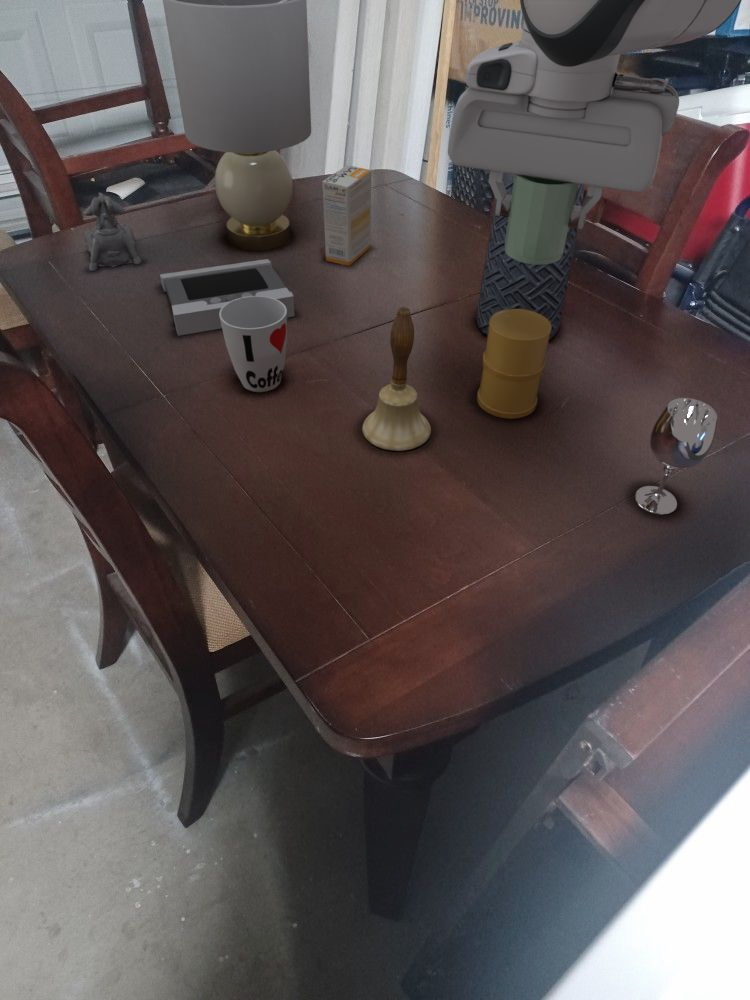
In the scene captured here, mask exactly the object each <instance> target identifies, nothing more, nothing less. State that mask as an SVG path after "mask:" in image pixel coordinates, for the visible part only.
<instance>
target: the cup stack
mask: <svg viewBox="0 0 750 1000" xmlns="http://www.w3.org/2000/svg"><path fill="white" fill-rule="evenodd" d="M550 333H551V324H550V322H549V320H548V319H547V318H545V317H544V316H542V315H541V314H538V313H536V312H533V311H529V310H524V309H506V310H502V311H499V312H497V313H495V314H494V315H493V316H492V317H491V318H490V321H489V328H488V335H486V342H485V343H486V344H485V350H484V351H483V354H482V360H481V365H482V371H481V378H480V382H479V383H480V384H479V388H478V390H477V393H476V394H477V395H476V401H477V404H478V406H479V407H480V408H481V409H482V410H483V411H485V412H486V413H487V414H490V415H491V416H494V417H497V418H501V419H510V420H515V419H521V418H524V417H527V416H529V415H531V414H532V413H533V412H534V411H535V410H536V409H537V405H538V400H539V399H538V393H539V388H540V384H541V380H542V375H543V373H544V372H545V369H546V365H547V364H546V357H547V351H548V346H549V341H550V339H549V338H550Z"/></svg>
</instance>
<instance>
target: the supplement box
mask: <svg viewBox="0 0 750 1000" xmlns="http://www.w3.org/2000/svg"><path fill="white" fill-rule="evenodd" d="M321 184H322V198H323V222H324V243H325V245H324V246H325V247H324V248H325V261H326V262H331V263H335V264H338V265H342V266H347V267H350V266H351V265H353V264H354V263H355V262H356V261H357V260H358V259H360V257H362V256H363V255H364V254H365V253H366V252H368V250H370V249H371V247H372V170H371V169H368V168H363V167H360V166H359V167H358V166H355V165H349V164H347V165H344V167H342V168H341V169H339V170H337V171H336V172H334V173H333V174H331V175H330V176H328V177H327V178H325V179H324V180H323V181H322V183H321Z"/></svg>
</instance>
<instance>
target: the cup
mask: <svg viewBox="0 0 750 1000" xmlns="http://www.w3.org/2000/svg"><path fill="white" fill-rule="evenodd" d="M219 316H220V321H221V325H222V328H221V329H222V333H223V338H224V343H225V347H226V350H227V352H228V356H229V358H230V361H231V364H232V366H233V367H232V368H233V369H234V372H235V374H236V375H237V377H238V379H239V380H240V383H241V384H242V386H243V388H245V389H246V390H248V391H251V392H256V393H265V392H269V391H273V390H274V389H276V388H277V387H278V386H280V384H281V382H282V378H283V373H284V370H285V366H286V359H287V347H288V317H287V309H286V307H285V305H284V304H283V303H282V302H280V301H279V300H277V299H274V298H271V297H266V296H247V297H242V298H238V299H235V300H232V301H230V302H228V303H227V304H225V305H224V306H223V307H222V308H221V310H220V312H219Z"/></svg>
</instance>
